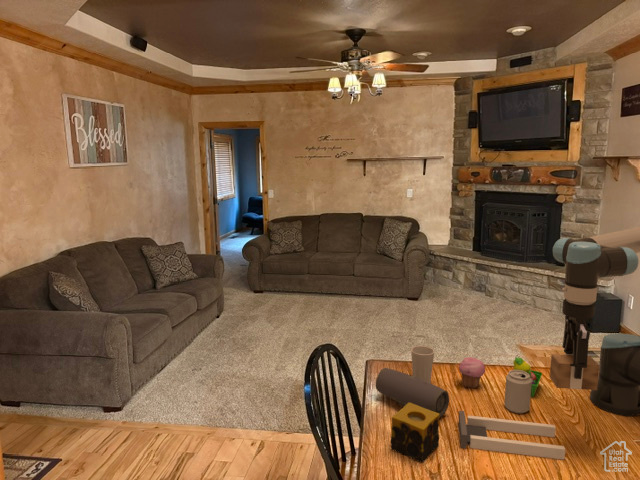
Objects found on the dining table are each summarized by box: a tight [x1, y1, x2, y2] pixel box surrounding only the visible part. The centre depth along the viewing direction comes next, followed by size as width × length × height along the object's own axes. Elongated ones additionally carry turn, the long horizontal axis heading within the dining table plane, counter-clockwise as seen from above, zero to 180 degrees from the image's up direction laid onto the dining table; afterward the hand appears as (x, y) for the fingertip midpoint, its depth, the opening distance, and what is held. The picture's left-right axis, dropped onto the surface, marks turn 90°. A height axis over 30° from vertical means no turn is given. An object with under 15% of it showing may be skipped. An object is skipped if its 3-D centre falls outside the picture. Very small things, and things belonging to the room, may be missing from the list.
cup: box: [410, 345, 435, 384], centre depth 170 cm, size 8×8×12 cm
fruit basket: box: [512, 356, 543, 398], centre depth 165 cm, size 11×9×11 cm
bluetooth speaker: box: [375, 367, 450, 418], centre depth 154 cm, size 23×9×10 cm, turn 44°
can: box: [503, 369, 532, 414], centre depth 152 cm, size 8×8×12 cm
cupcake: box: [458, 356, 486, 389], centre depth 168 cm, size 9×9×10 cm
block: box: [549, 353, 599, 391], centre depth 130 cm, size 10×6×7 cm, turn 81°
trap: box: [458, 410, 488, 449], centre depth 138 cm, size 8×13×4 cm, turn 167°
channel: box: [466, 415, 566, 460], centre depth 136 cm, size 24×12×3 cm, turn 77°
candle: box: [390, 403, 440, 463], centre depth 133 cm, size 10×10×10 cm
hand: (571, 382), depth 131 cm, fingers closed on block, 6 cm apart
